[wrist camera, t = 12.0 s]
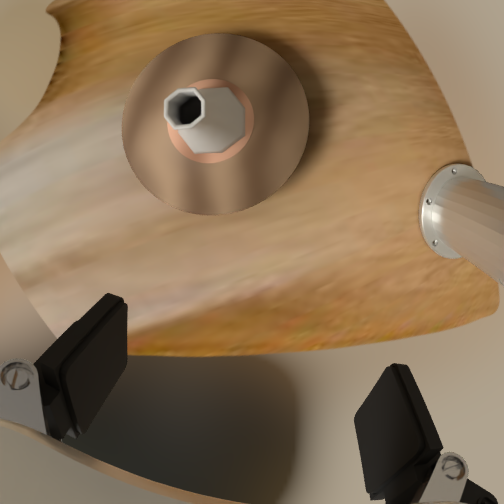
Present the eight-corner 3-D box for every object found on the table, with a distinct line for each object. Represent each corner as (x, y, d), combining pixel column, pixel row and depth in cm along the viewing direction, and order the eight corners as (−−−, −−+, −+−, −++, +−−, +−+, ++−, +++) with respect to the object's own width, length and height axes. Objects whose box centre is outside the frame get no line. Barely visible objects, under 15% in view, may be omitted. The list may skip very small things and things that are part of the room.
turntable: (321, 55, 26) (324, 50, 25) (286, 227, 33) (287, 232, 31) (147, 36, 26) (141, 31, 25) (119, 197, 33) (112, 199, 31)
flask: (234, 77, 26) (217, 46, 17) (256, 141, 29) (250, 137, 19) (168, 102, 27) (126, 86, 18) (190, 164, 30) (154, 173, 20)
